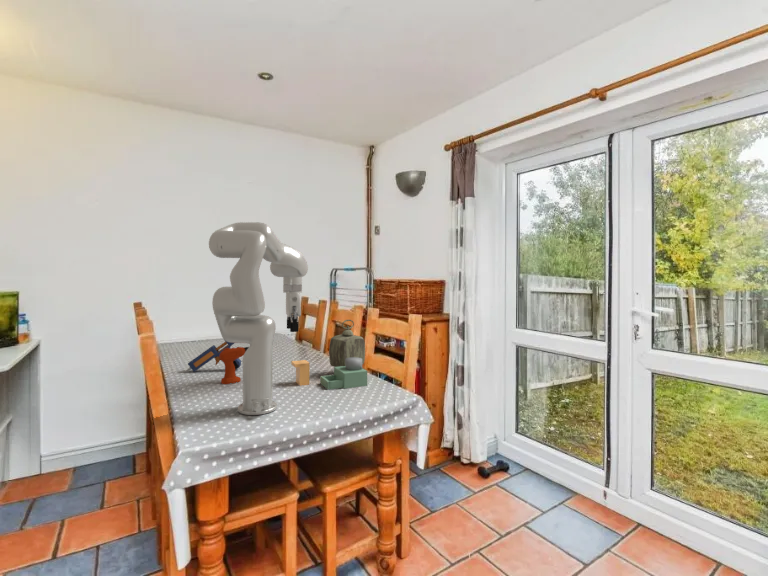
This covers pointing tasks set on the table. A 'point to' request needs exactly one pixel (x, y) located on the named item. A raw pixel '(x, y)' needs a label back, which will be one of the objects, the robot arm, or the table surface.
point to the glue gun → (210, 357)
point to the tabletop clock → (346, 347)
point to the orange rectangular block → (302, 372)
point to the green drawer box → (346, 375)
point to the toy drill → (231, 363)
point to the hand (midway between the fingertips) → (292, 330)
